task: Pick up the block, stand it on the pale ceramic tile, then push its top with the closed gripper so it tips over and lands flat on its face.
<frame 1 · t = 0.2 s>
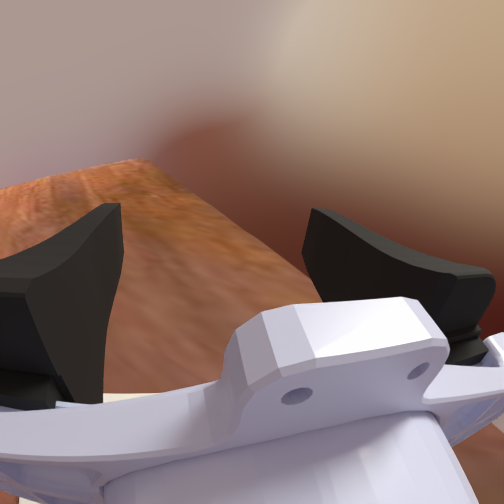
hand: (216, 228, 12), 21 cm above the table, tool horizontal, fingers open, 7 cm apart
tile: (120, 485, 19), on the table
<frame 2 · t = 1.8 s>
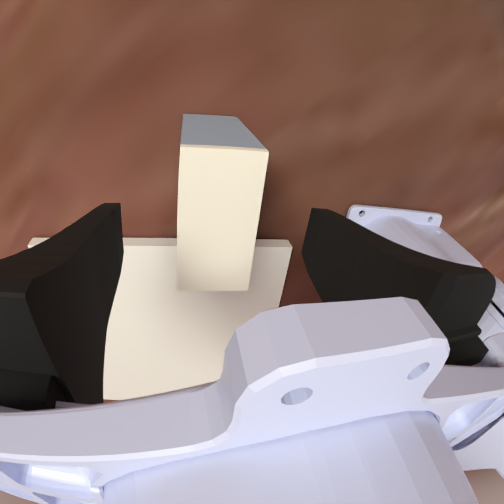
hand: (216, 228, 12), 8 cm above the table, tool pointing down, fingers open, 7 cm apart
tile: (160, 334, 25), on the table
block: (205, 164, 18), on the table
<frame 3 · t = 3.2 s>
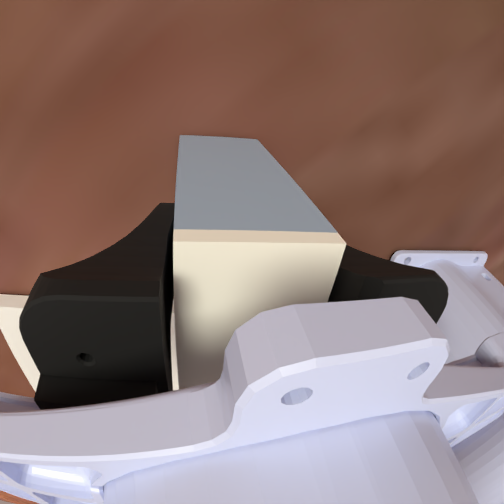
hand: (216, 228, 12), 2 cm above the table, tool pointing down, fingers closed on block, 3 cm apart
tile: (159, 396, 20), on the table
block: (212, 206, 13), on the table, touching gripper
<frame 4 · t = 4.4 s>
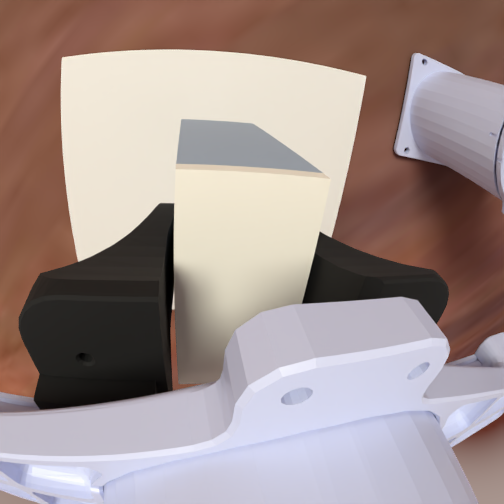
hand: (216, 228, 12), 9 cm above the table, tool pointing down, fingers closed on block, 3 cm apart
tile: (206, 193, 20), on the table
block: (211, 187, 14), point 6 cm above the table, touching gripper
when the fingers open (4 cm above the table, at t = 5.8 s): block stays where it is, resting on tile.
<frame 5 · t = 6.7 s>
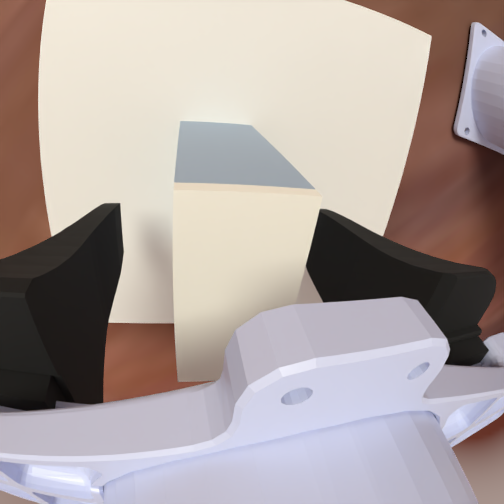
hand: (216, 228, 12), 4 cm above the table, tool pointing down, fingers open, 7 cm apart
tile: (231, 168, 15), on the table
block: (210, 187, 14), point 1 cm above the table, touching tile
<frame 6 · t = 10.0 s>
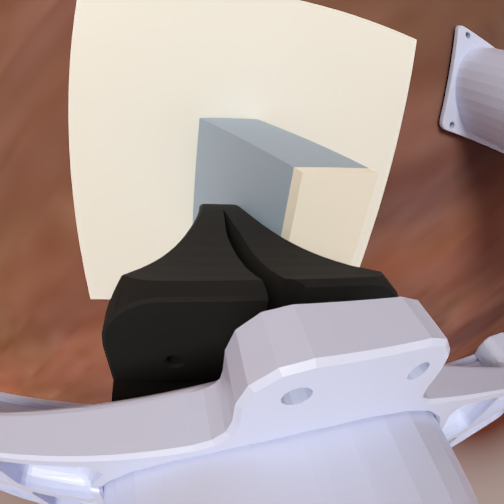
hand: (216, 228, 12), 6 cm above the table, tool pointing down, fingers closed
tile: (239, 157, 17), on the table
block: (223, 176, 16), point 1 cm above the table, tilted 17°, touching gripper, tile
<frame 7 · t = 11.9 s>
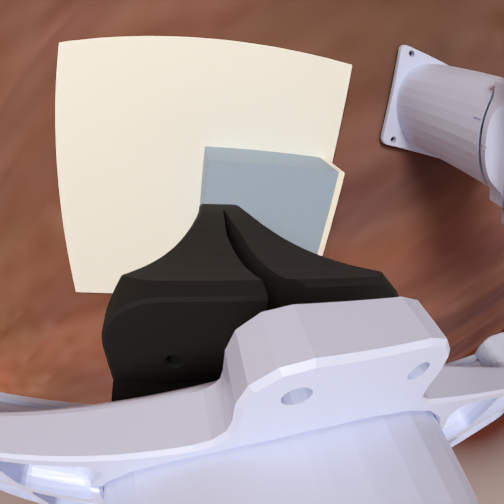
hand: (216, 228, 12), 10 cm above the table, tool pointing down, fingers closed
tile: (193, 176, 20), on the table
block: (202, 201, 19), point 2 cm above the table, tilted 90°, touching tile
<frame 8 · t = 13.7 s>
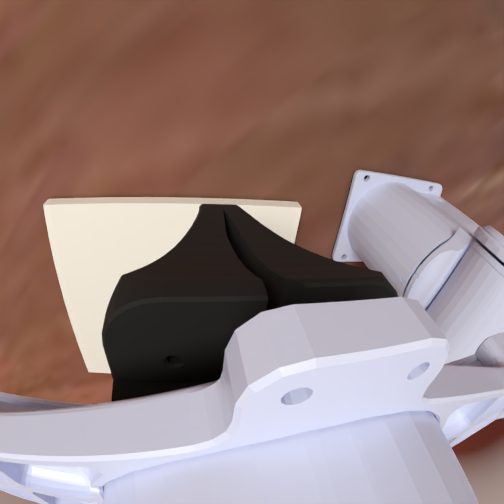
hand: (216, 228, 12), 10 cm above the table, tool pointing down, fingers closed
tile: (171, 300, 26), on the table
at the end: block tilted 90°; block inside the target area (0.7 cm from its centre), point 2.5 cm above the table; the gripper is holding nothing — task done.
